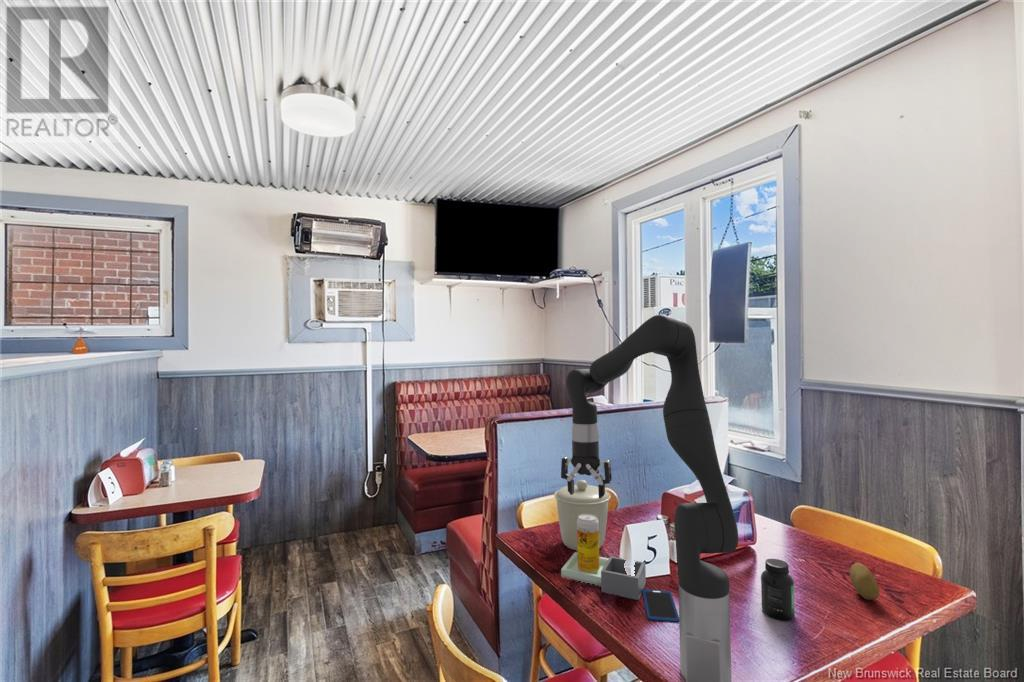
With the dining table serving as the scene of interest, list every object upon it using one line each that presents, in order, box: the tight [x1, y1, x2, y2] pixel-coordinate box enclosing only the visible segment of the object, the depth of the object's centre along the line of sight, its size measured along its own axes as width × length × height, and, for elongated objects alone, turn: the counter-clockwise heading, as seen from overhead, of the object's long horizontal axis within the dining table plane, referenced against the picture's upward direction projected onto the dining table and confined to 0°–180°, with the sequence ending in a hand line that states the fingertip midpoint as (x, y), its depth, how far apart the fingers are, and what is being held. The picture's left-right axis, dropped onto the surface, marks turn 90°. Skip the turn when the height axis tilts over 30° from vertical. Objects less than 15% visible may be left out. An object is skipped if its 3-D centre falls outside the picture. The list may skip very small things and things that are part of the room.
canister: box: [553, 479, 611, 552], centre depth 152 cm, size 18×18×21 cm
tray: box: [560, 551, 610, 587], centre depth 134 cm, size 12×12×2 cm
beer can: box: [577, 514, 600, 574], centre depth 134 cm, size 6×6×15 cm
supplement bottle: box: [760, 558, 796, 622], centre depth 112 cm, size 7×7×12 cm
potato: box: [849, 562, 881, 601], centre depth 119 cm, size 7×8×8 cm
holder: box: [600, 555, 647, 601], centre depth 126 cm, size 10×10×6 cm
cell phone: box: [641, 588, 679, 624], centre depth 117 cm, size 7×14×1 cm, turn 170°
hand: (586, 495), depth 134 cm, fingers open, 8 cm apart
